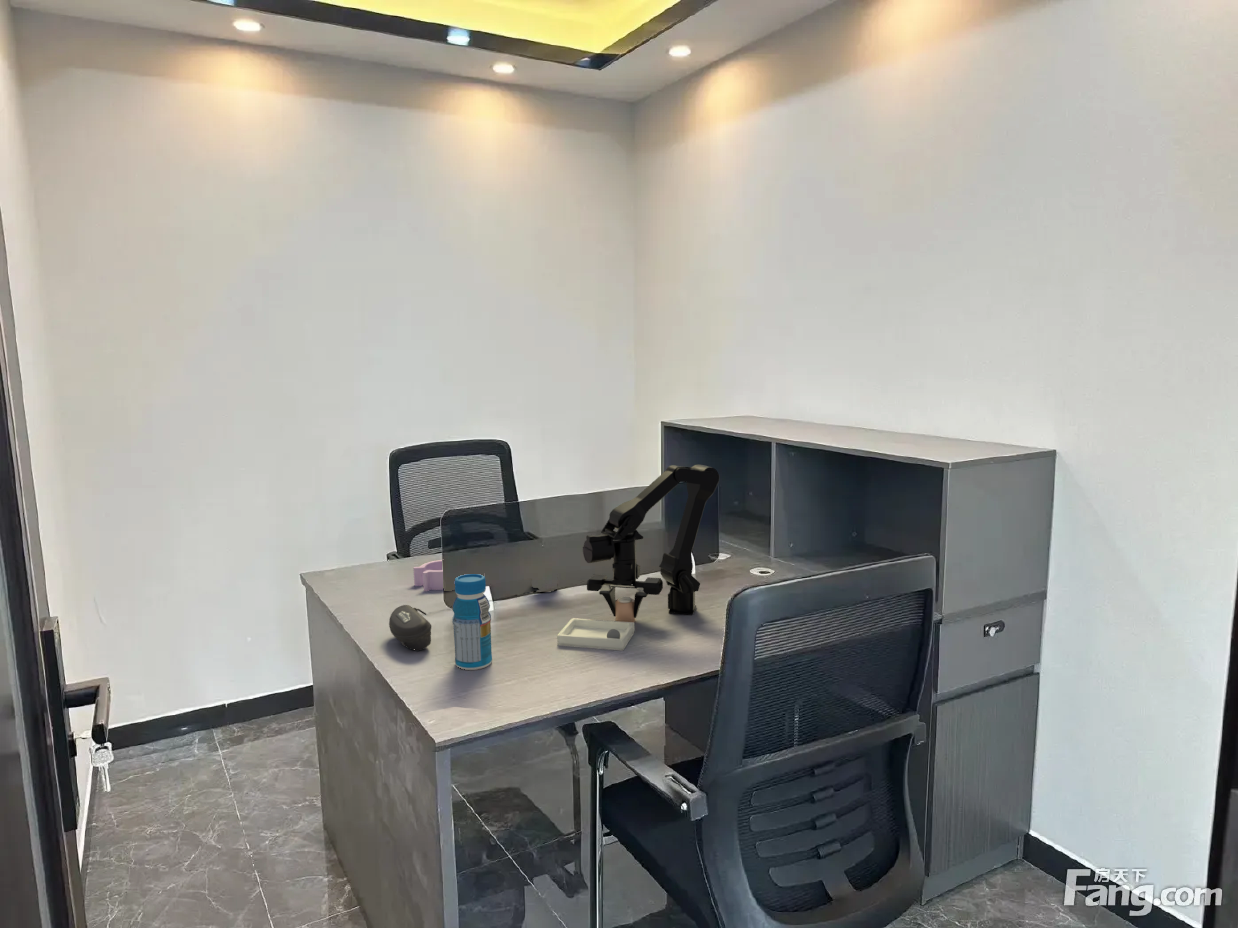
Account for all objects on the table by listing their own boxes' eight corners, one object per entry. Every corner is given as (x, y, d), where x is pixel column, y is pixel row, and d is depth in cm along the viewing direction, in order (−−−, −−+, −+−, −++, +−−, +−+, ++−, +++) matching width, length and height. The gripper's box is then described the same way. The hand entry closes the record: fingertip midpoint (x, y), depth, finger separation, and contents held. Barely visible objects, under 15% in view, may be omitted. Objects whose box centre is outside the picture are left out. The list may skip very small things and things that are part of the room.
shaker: (637, 618, 203) (636, 596, 202) (632, 625, 198) (632, 602, 197) (618, 617, 204) (617, 595, 203) (613, 624, 199) (613, 601, 198)
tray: (634, 632, 193) (634, 622, 193) (623, 650, 182) (622, 640, 181) (572, 627, 197) (572, 617, 197) (557, 645, 186) (557, 635, 185)
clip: (471, 575, 244) (470, 553, 243) (491, 584, 234) (490, 562, 233) (410, 588, 232) (409, 565, 231) (428, 598, 222) (427, 575, 221)
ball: (621, 640, 186) (621, 627, 186) (618, 645, 183) (618, 632, 183) (608, 639, 187) (608, 626, 187) (605, 644, 184) (605, 631, 184)
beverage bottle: (459, 674, 170) (454, 585, 167) (451, 660, 178) (446, 574, 175) (497, 667, 174) (493, 580, 170) (487, 653, 181) (484, 570, 178)
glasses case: (382, 635, 194) (380, 605, 193) (424, 627, 199) (423, 597, 198) (403, 659, 179) (401, 627, 177) (448, 650, 184) (446, 618, 183)
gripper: (666, 551, 204) (666, 608, 206) (597, 547, 208) (598, 604, 211) (658, 562, 193) (658, 623, 196) (585, 558, 198) (586, 618, 200)
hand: (625, 616), depth 201 cm, fingers closed on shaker, 5 cm apart
